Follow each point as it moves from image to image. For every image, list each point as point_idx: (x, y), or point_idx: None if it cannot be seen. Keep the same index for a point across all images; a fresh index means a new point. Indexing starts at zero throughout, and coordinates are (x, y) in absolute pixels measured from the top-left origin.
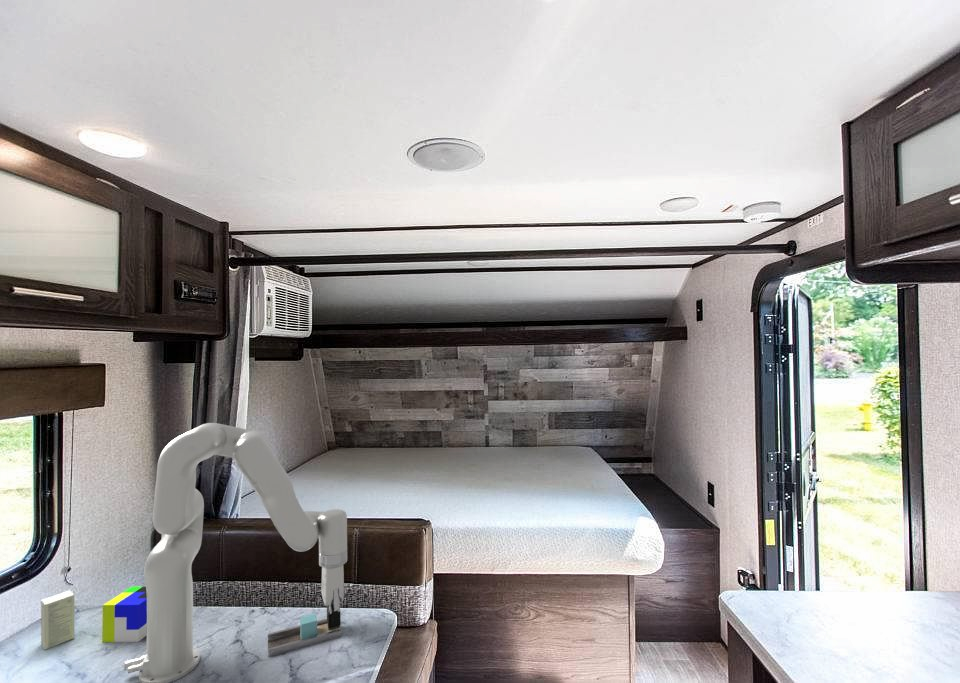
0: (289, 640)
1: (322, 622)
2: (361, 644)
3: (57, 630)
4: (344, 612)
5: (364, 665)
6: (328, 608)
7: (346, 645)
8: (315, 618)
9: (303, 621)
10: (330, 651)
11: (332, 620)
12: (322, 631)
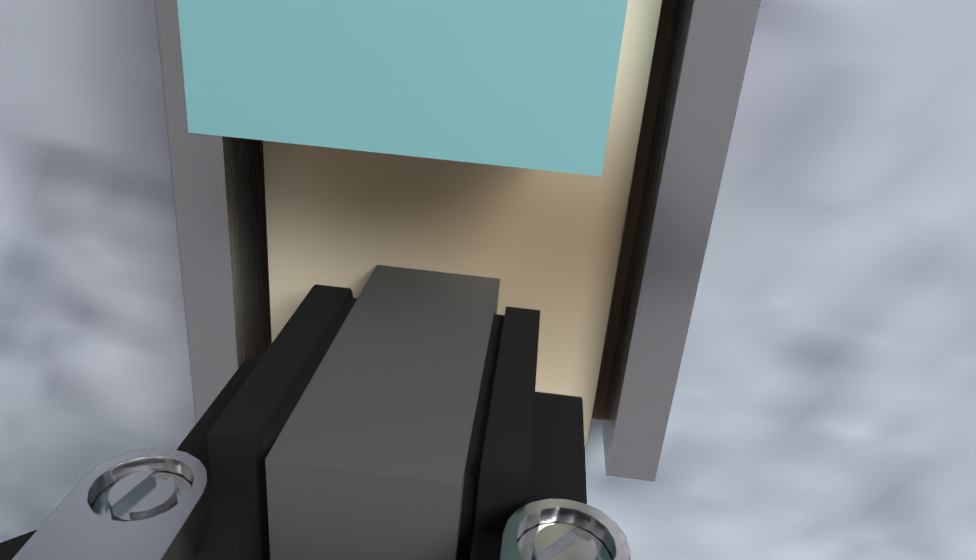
0: None
1: (644, 238)
2: (57, 494)
3: None
4: (880, 548)
5: None
6: (436, 502)
7: (97, 364)
8: (310, 110)
9: None
10: (36, 167)
11: (216, 410)
12: (398, 174)
